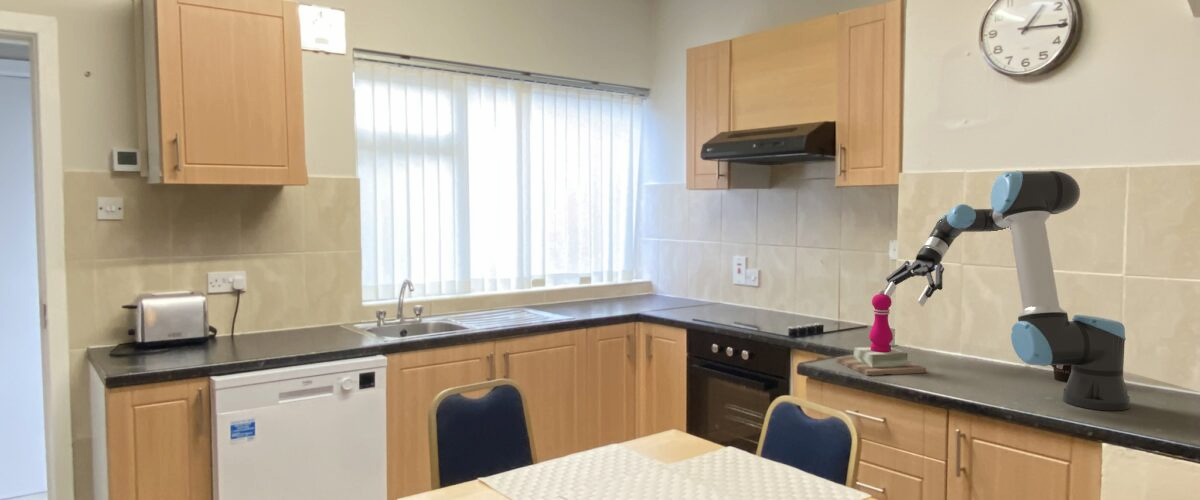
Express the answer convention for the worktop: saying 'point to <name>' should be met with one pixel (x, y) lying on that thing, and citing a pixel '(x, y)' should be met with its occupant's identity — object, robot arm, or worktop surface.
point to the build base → (881, 369)
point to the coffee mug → (1062, 372)
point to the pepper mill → (881, 323)
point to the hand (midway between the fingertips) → (902, 301)
